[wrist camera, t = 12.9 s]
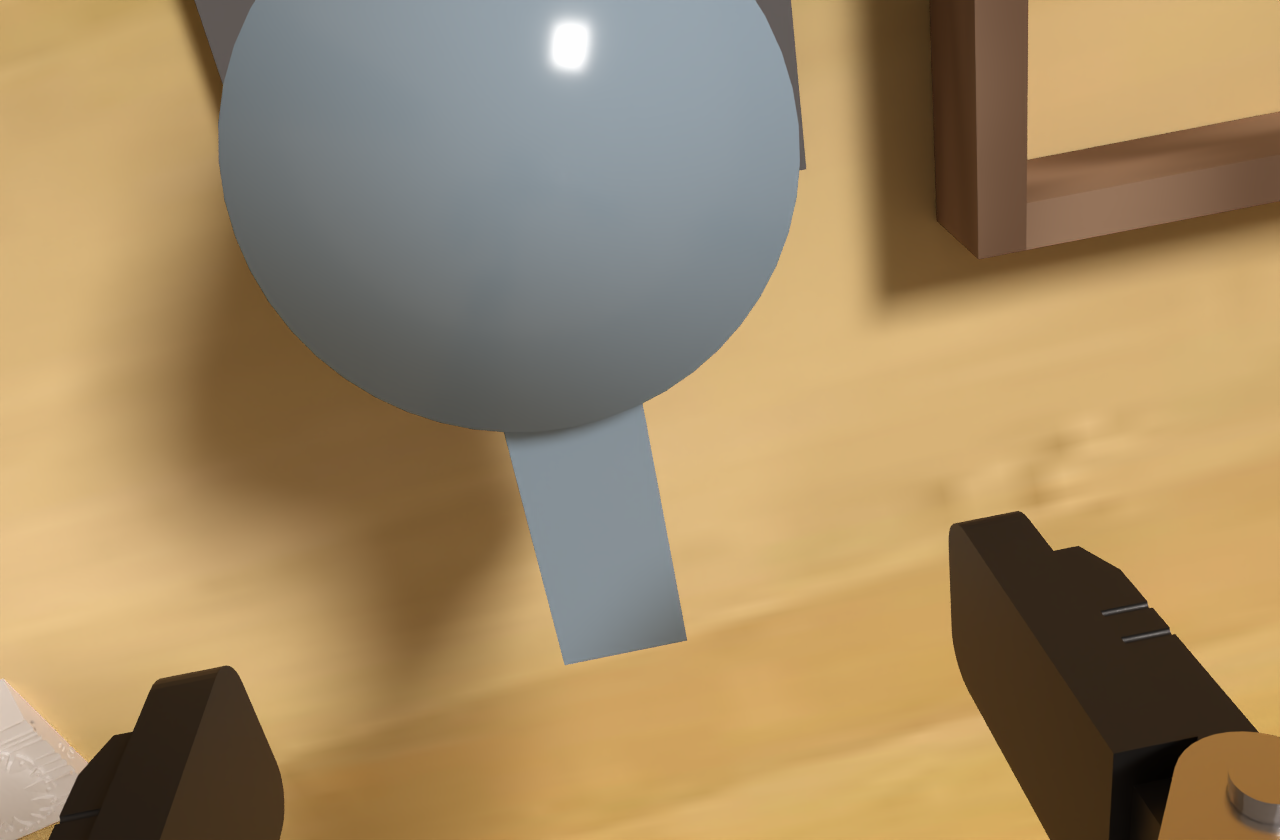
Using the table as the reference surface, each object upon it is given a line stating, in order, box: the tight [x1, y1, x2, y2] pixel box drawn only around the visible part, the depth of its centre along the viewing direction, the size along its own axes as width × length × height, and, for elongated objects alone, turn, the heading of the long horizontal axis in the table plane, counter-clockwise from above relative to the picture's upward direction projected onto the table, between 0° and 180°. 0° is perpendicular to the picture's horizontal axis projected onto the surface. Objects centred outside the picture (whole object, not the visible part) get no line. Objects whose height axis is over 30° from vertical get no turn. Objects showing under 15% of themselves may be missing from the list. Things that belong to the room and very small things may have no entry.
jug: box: [218, 0, 800, 665], centre depth 18 cm, size 13×7×9 cm, turn 10°
